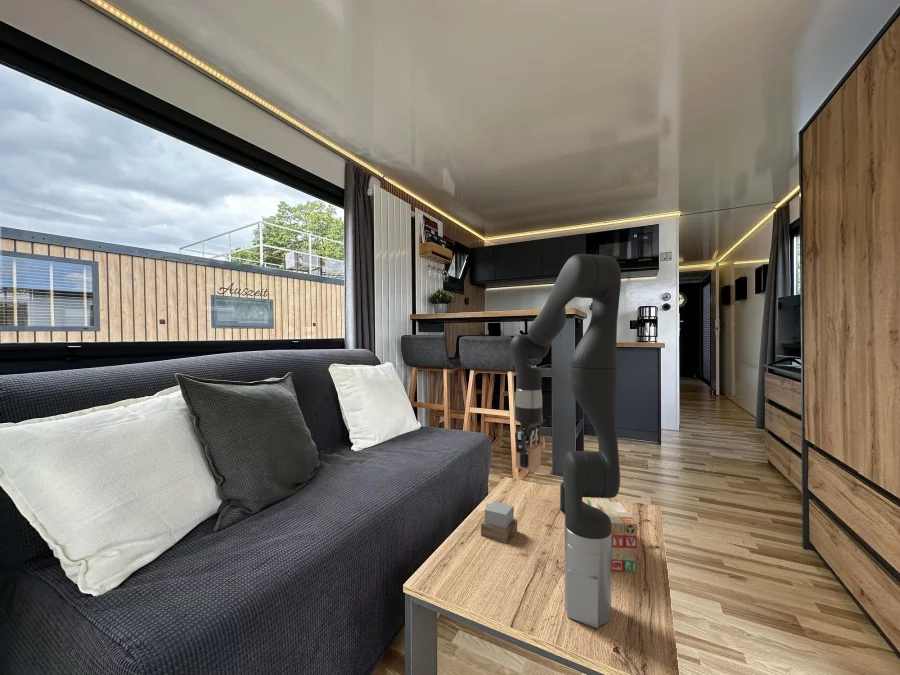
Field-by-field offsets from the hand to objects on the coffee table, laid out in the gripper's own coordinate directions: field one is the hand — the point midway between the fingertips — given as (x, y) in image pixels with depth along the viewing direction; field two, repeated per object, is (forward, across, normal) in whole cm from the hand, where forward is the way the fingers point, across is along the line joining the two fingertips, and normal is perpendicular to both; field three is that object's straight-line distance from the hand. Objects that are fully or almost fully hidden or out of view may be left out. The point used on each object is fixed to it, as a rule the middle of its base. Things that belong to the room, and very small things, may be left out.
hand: (528, 463), depth 107 cm
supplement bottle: (+22, +25, -5) cm, 34 cm away
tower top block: (+18, -1, +8) cm, 20 cm away
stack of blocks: (+22, +9, -20) cm, 31 cm away
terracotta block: (+1, 0, 0) cm, 1 cm away
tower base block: (+22, -1, +8) cm, 24 cm away
